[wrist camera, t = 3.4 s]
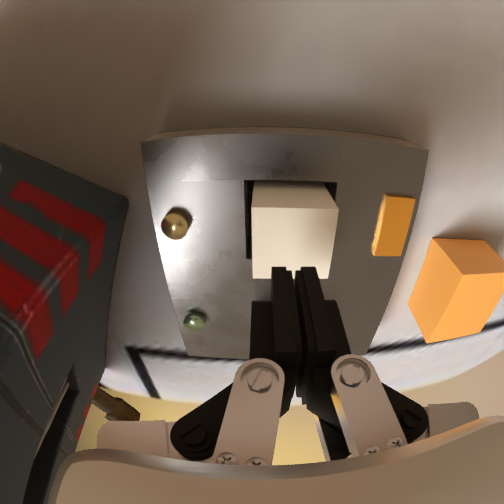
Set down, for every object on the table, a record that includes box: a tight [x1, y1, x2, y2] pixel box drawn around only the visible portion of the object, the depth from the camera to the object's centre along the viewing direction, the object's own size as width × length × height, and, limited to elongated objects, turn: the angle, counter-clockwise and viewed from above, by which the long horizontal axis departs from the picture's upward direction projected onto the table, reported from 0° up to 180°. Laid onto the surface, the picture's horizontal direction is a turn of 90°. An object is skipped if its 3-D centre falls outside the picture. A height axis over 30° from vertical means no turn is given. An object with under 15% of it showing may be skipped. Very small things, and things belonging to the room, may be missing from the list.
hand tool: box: [92, 387, 140, 421], centre depth 34 cm, size 19×4×5 cm, turn 32°
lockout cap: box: [408, 238, 504, 343], centre depth 18 cm, size 7×7×5 cm
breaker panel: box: [141, 127, 428, 359], centre depth 18 cm, size 16×18×6 cm
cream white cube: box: [251, 180, 339, 279], centre depth 15 cm, size 4×4×4 cm
